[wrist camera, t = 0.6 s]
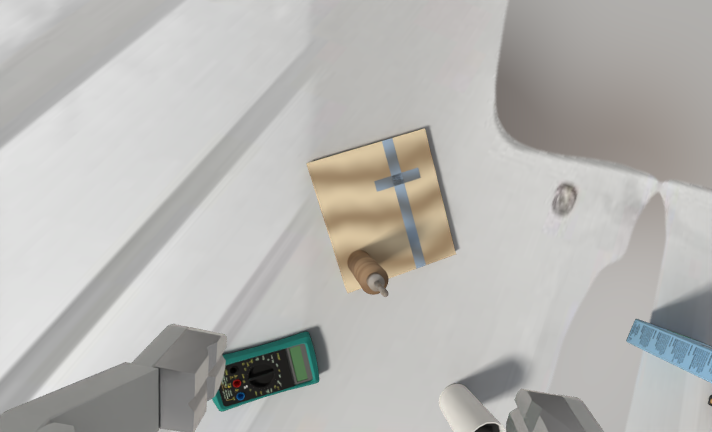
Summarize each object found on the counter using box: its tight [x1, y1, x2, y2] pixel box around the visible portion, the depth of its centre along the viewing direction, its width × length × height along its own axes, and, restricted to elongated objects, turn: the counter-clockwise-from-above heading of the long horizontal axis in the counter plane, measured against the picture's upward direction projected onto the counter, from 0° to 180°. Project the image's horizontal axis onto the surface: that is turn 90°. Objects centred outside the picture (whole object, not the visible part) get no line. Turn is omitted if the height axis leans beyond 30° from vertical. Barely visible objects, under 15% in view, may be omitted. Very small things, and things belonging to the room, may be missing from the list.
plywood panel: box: [307, 128, 456, 293], centre depth 53 cm, size 20×18×1 cm
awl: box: [347, 250, 388, 297], centre depth 45 cm, size 4×4×14 cm
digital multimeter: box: [212, 332, 319, 412], centre depth 52 cm, size 8×16×3 cm, turn 101°
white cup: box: [439, 384, 506, 432], centre depth 55 cm, size 7×7×10 cm
